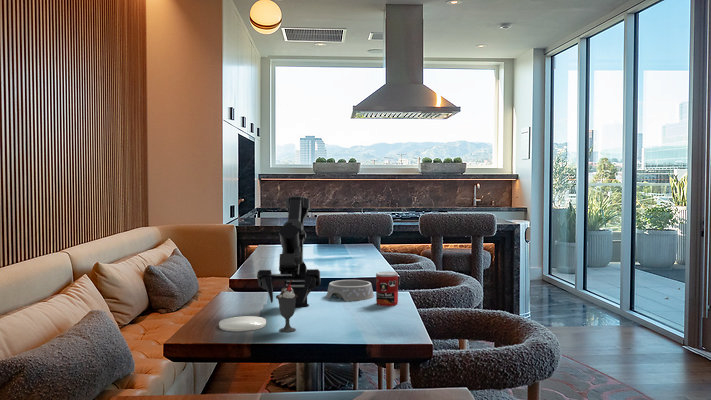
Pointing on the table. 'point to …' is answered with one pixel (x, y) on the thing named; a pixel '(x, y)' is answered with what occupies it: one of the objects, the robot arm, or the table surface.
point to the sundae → (287, 306)
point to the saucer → (242, 323)
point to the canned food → (387, 288)
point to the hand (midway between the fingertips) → (287, 301)
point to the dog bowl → (350, 290)
